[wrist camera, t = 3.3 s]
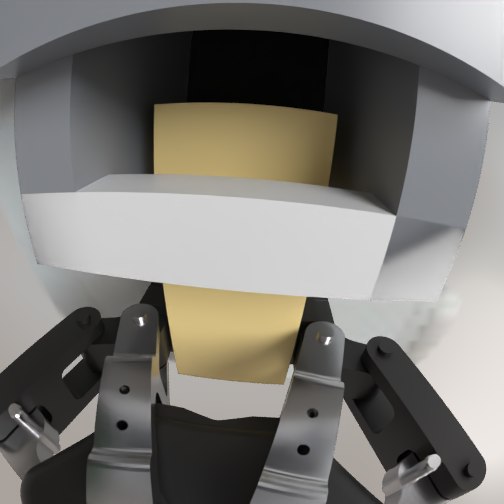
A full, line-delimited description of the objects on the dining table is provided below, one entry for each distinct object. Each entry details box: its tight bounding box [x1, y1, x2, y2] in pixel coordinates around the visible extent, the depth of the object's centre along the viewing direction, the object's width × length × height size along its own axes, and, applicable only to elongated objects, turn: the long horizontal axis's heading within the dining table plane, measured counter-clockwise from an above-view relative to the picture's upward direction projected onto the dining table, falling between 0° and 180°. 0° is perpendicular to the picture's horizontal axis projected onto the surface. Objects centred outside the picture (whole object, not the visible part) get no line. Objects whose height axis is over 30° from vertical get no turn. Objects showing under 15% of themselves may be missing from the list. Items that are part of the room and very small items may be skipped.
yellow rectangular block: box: [154, 103, 338, 385], centre depth 9 cm, size 9×4×4 cm, turn 176°
